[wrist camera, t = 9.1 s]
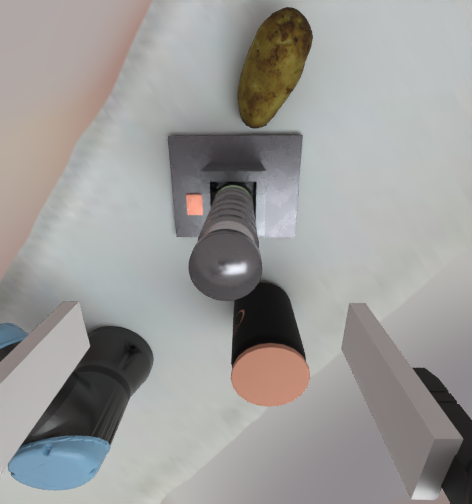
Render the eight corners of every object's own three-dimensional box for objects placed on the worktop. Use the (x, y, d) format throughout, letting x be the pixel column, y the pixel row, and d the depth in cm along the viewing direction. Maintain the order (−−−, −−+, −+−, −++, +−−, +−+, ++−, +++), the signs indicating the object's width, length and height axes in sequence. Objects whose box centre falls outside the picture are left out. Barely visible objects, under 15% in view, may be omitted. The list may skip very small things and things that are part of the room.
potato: (214, 93, 42) (208, 85, 34) (278, 11, 38) (287, -18, 30) (256, 135, 44) (258, 136, 36) (321, 61, 40) (338, 46, 32)
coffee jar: (233, 279, 53) (229, 347, 37) (291, 279, 53) (313, 346, 36) (234, 327, 57) (231, 407, 41) (288, 326, 57) (307, 407, 41)
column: (216, 215, 41) (191, 300, 21) (215, 180, 39) (185, 234, 19) (251, 215, 41) (261, 301, 21) (252, 180, 39) (263, 234, 19)
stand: (177, 234, 50) (161, 262, 40) (169, 135, 44) (146, 137, 34) (293, 235, 50) (306, 262, 39) (301, 135, 43) (319, 136, 33)
